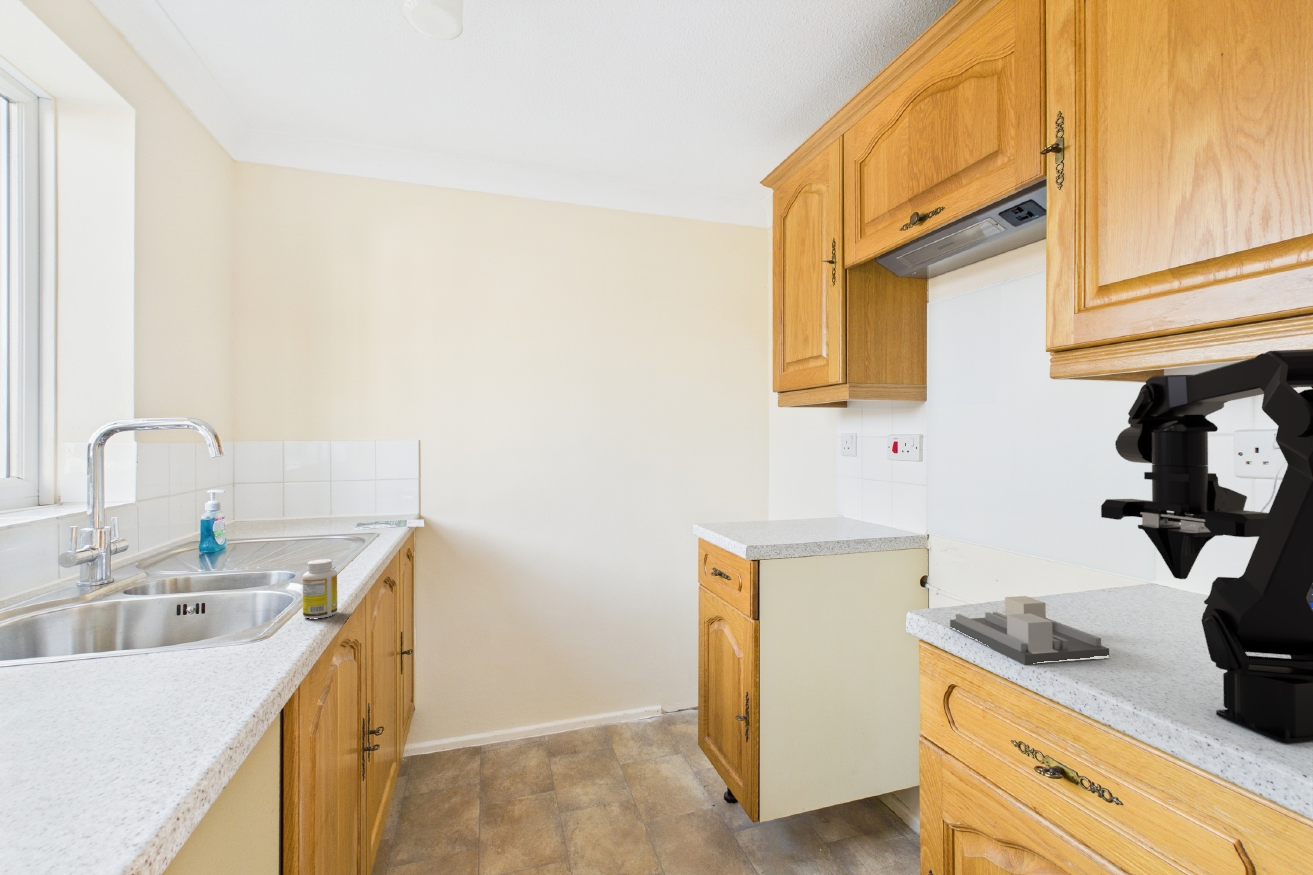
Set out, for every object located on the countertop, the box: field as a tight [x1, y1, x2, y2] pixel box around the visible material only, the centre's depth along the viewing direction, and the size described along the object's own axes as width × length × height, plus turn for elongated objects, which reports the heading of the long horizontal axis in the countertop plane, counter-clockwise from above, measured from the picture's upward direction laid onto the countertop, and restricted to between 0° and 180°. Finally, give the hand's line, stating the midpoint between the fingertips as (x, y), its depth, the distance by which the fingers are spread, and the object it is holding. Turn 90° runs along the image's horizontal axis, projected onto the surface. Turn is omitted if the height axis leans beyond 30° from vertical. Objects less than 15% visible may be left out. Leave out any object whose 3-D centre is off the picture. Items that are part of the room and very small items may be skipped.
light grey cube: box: [1007, 613, 1053, 651], centre depth 84 cm, size 4×4×4 cm
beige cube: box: [1004, 595, 1047, 619], centre depth 94 cm, size 4×4×4 cm
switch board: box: [949, 611, 1110, 666], centre depth 90 cm, size 16×14×3 cm
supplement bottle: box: [302, 558, 338, 619], centre depth 106 cm, size 6×6×10 cm
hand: (1180, 578), depth 78 cm, fingers closed
